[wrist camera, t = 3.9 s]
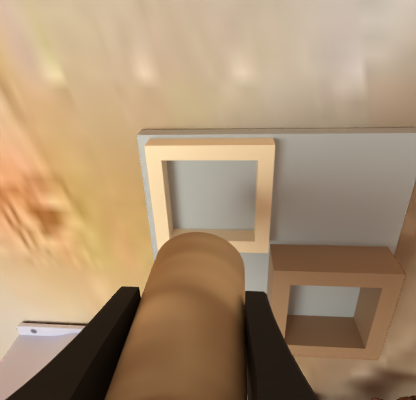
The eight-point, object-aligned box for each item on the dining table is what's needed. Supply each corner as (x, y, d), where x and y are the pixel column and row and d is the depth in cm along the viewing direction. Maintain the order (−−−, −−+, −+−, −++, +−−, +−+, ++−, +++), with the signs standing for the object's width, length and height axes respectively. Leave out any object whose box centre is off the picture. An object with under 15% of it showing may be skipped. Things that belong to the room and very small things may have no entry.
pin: (158, 301, 14) (96, 513, 8) (148, 229, 13) (61, 427, 6) (245, 305, 14) (248, 528, 8) (247, 231, 12) (254, 444, 6)
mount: (164, 308, 25) (154, 348, 22) (141, 129, 19) (122, 150, 16) (368, 317, 24) (386, 360, 21) (419, 127, 17) (458, 149, 14)
